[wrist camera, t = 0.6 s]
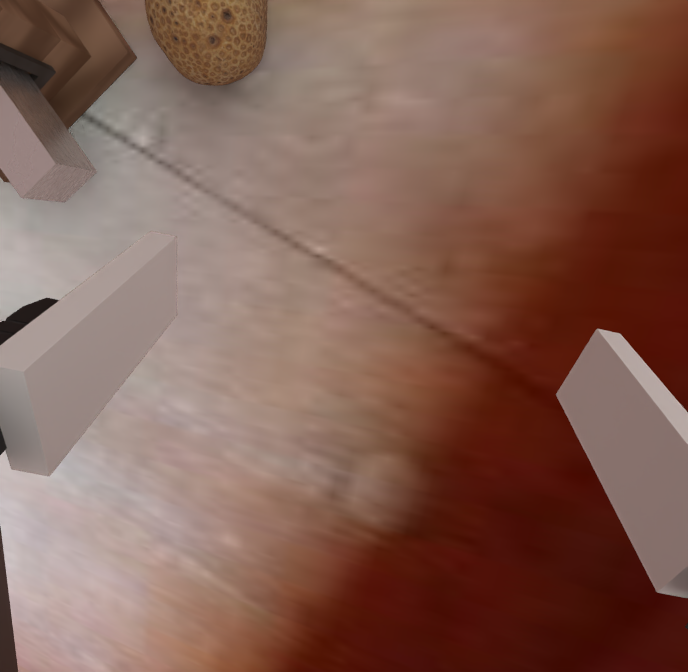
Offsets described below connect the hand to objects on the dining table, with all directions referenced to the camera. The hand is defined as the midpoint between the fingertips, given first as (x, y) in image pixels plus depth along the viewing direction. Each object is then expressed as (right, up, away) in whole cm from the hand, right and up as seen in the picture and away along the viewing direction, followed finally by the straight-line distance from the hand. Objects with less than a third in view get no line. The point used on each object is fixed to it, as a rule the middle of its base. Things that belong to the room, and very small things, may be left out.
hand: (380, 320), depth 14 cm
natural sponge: (-10, +24, +23) cm, 35 cm away
